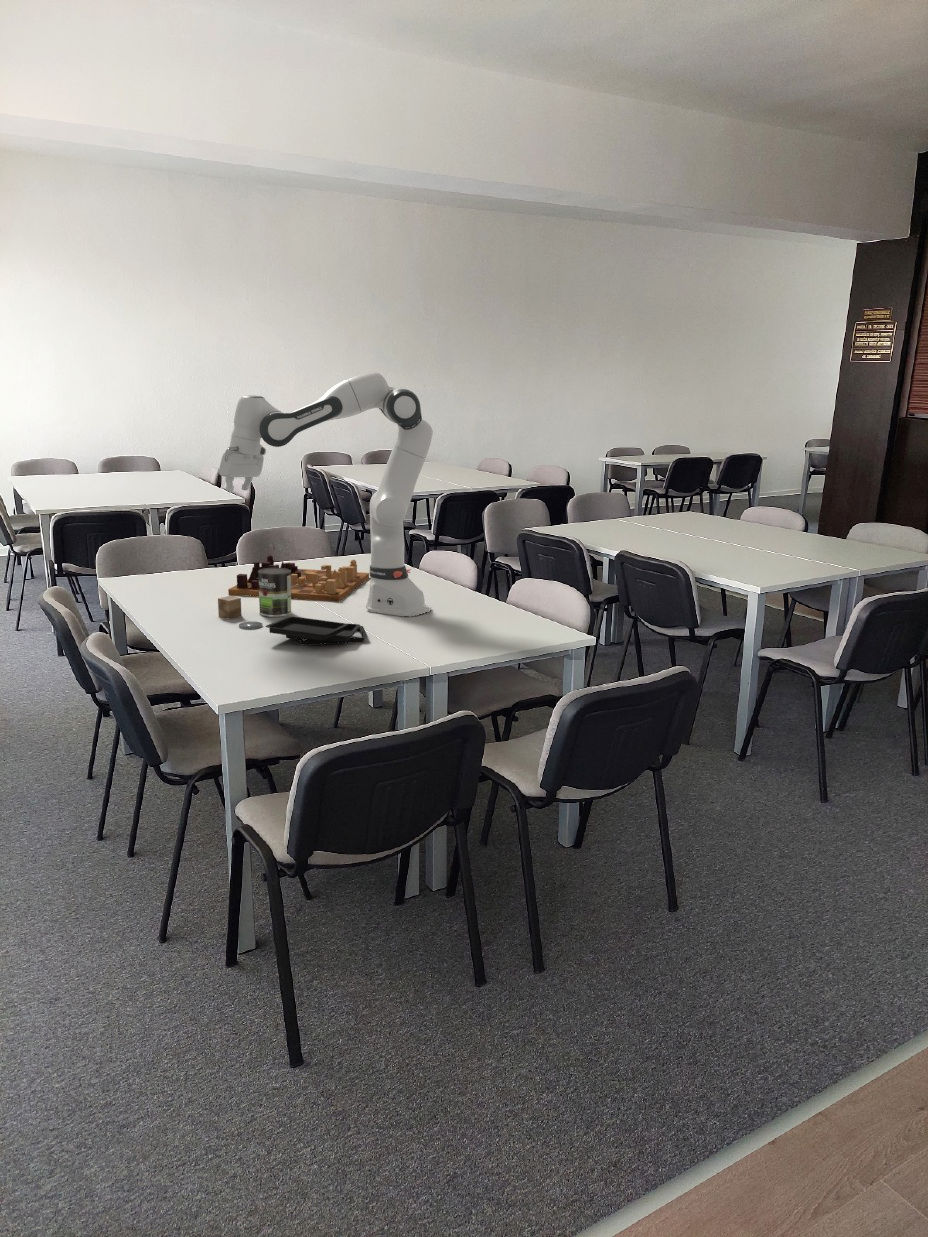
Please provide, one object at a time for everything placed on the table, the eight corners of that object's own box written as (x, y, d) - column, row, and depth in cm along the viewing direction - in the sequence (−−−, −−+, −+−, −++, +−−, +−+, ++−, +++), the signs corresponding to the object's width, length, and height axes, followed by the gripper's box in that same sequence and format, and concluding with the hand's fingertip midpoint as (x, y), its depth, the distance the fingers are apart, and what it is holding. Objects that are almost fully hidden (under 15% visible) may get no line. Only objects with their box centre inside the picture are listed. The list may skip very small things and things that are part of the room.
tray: (357, 627, 277) (357, 610, 275) (380, 647, 256) (380, 630, 255) (259, 635, 265) (259, 618, 264) (276, 657, 244) (275, 639, 243)
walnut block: (241, 616, 285) (240, 597, 283) (229, 619, 281) (228, 600, 280) (231, 613, 288) (230, 595, 286) (218, 616, 284) (217, 598, 282)
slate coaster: (267, 627, 274) (267, 624, 274) (249, 631, 269) (249, 628, 269) (251, 623, 278) (251, 620, 278) (234, 627, 273) (233, 624, 272)
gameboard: (339, 603, 307) (338, 577, 304) (228, 596, 313) (227, 570, 310) (369, 579, 345) (369, 556, 343) (270, 573, 351) (269, 550, 349)
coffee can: (278, 618, 283) (276, 575, 279) (252, 614, 287) (251, 571, 284) (298, 612, 292) (297, 569, 288) (273, 607, 296) (272, 566, 293)
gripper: (236, 448, 268) (228, 494, 271) (268, 449, 287) (261, 492, 290) (217, 444, 269) (210, 489, 272) (251, 445, 289) (244, 487, 292)
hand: (237, 490), depth 282 cm, fingers open, 8 cm apart
